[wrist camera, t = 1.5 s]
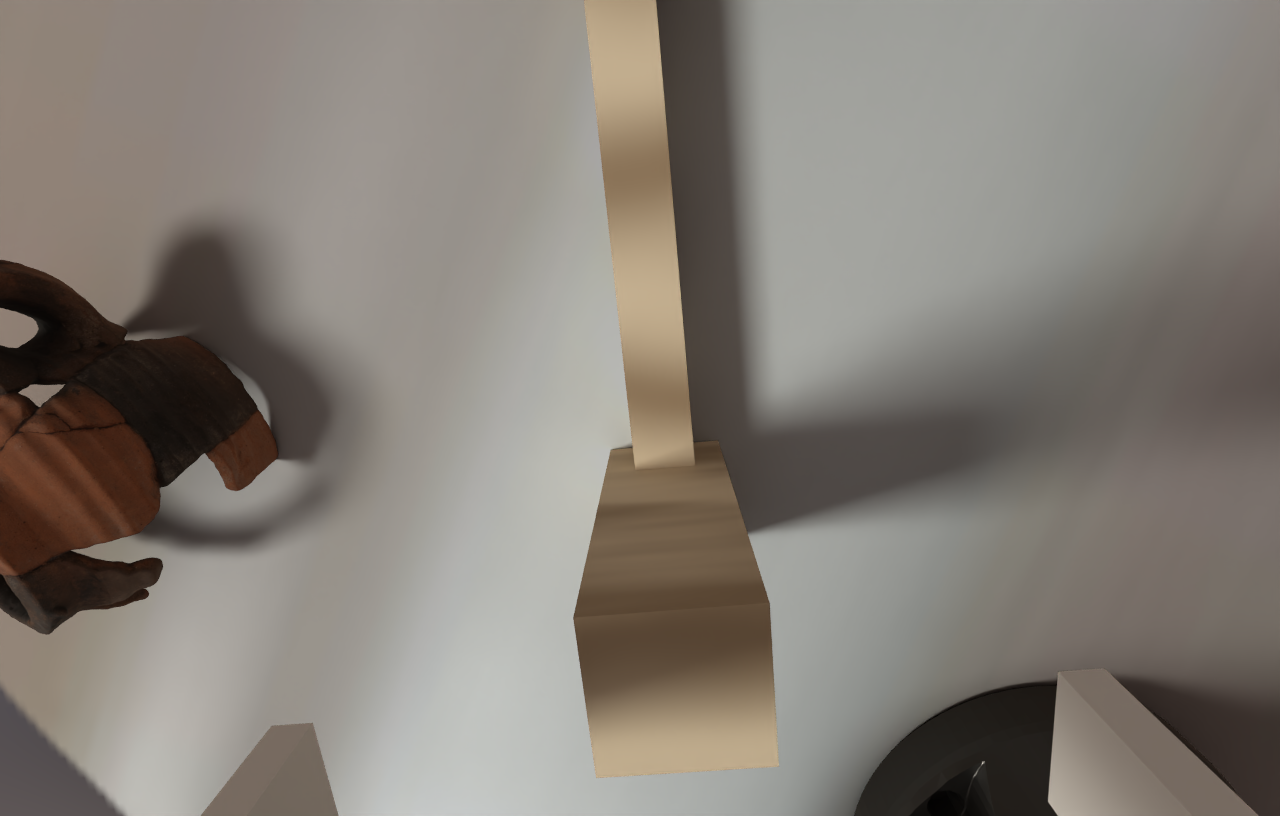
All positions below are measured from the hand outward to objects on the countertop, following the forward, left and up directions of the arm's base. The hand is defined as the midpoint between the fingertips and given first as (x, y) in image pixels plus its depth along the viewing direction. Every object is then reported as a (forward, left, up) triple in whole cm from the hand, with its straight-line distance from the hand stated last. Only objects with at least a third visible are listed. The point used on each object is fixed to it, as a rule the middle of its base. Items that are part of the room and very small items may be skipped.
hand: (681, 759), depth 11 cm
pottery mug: (+5, +19, -13) cm, 24 cm away
